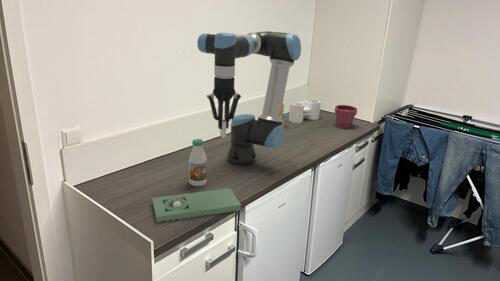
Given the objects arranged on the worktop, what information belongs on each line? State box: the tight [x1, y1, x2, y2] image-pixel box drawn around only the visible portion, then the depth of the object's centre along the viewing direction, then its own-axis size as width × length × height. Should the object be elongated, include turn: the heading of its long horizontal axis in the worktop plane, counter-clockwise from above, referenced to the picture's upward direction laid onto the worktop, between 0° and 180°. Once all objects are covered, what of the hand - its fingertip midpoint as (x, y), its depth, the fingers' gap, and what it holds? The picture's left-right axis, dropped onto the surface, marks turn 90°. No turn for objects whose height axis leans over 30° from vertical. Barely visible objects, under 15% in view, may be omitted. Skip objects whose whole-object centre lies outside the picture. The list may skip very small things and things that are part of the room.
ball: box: [172, 201, 182, 208], centre depth 146 cm, size 4×4×4 cm
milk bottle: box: [188, 138, 208, 187], centre depth 164 cm, size 8×8×20 cm
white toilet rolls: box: [288, 98, 322, 124], centre depth 262 cm, size 25×10×12 cm, turn 128°
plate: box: [151, 187, 242, 223], centre depth 148 cm, size 32×14×2 cm, turn 110°
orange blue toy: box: [280, 103, 289, 127], centre depth 245 cm, size 12×10×15 cm
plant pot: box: [334, 104, 358, 129], centre depth 251 cm, size 14×14×13 cm
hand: (223, 136), depth 149 cm, fingers closed
